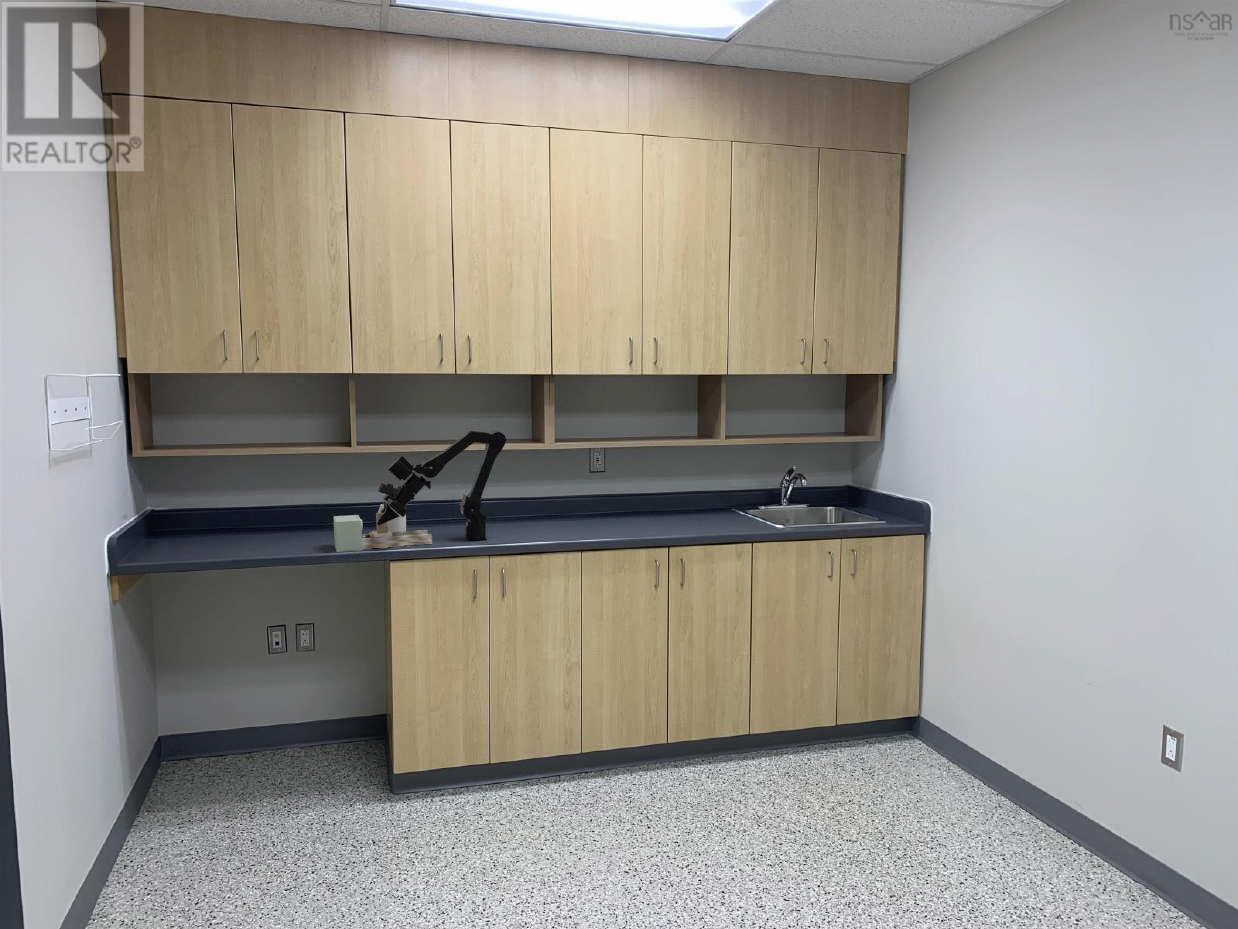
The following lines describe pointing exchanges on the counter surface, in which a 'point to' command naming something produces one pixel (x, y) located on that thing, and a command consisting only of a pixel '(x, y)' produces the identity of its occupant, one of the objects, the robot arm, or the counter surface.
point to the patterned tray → (398, 539)
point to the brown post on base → (381, 528)
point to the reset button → (368, 535)
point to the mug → (395, 522)
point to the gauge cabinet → (348, 533)
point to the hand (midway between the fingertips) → (377, 523)
